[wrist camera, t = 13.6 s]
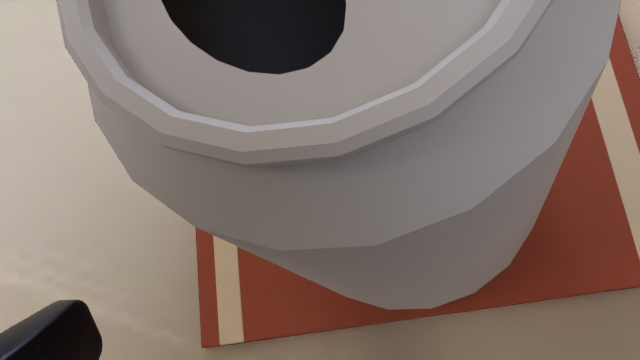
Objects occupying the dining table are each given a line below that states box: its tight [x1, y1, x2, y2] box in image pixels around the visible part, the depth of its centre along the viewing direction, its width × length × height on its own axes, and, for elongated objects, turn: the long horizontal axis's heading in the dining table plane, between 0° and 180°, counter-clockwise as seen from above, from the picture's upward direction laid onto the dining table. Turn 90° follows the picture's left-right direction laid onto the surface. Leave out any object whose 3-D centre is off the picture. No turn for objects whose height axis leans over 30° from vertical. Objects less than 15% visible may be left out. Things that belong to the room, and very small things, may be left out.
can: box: [56, 0, 621, 310], centre depth 12 cm, size 8×8×12 cm
